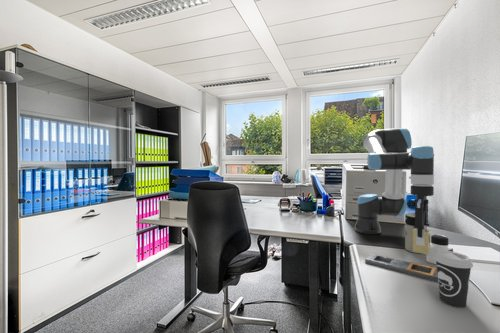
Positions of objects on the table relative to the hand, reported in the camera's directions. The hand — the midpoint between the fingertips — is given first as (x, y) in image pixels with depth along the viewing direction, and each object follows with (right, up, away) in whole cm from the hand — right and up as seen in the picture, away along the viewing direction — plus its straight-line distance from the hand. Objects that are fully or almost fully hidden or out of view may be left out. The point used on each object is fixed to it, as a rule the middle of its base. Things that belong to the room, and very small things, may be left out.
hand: (421, 243), depth 98 cm
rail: (-5, -12, +5) cm, 14 cm away
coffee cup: (-4, -13, -19) cm, 23 cm away
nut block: (0, -3, 0) cm, 3 cm away
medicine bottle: (+15, -12, +10) cm, 22 cm away
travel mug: (+14, -12, +25) cm, 31 cm away
